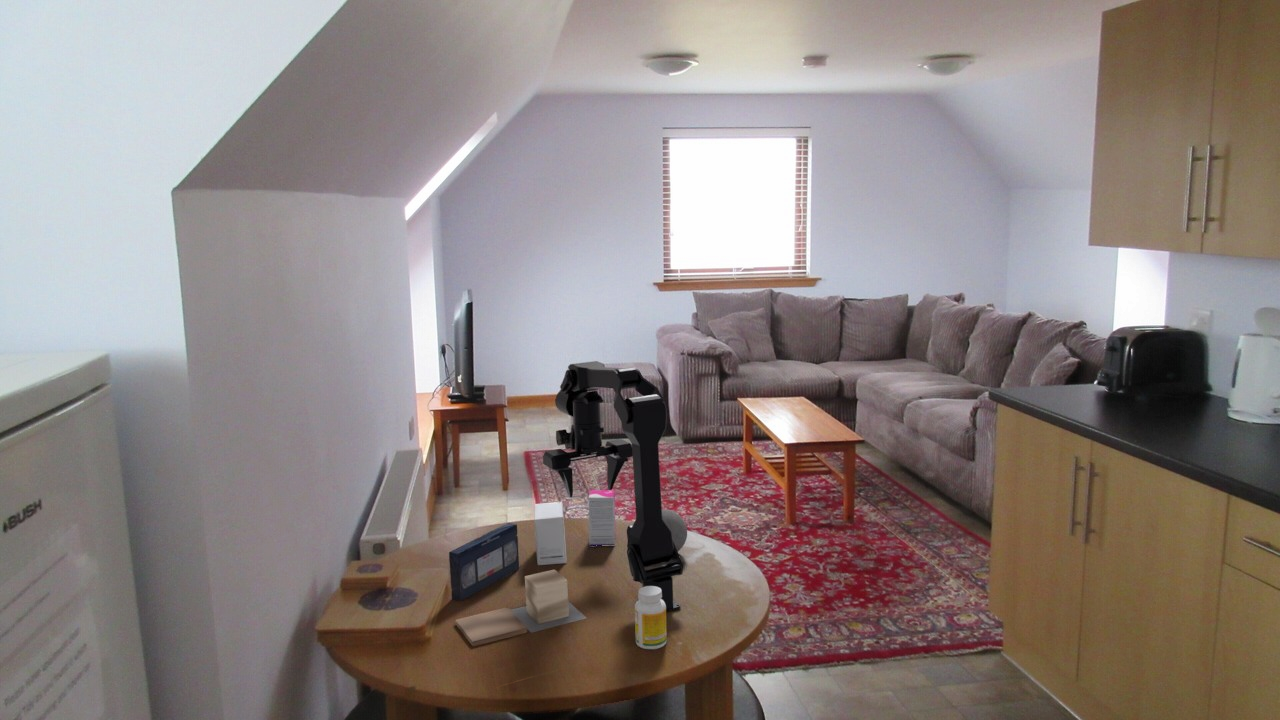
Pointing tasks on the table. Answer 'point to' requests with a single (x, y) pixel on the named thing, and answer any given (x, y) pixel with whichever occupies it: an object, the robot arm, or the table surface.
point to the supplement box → (601, 517)
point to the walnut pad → (490, 626)
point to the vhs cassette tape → (483, 561)
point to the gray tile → (534, 626)
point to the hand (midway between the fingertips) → (590, 493)
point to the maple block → (546, 596)
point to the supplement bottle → (650, 618)
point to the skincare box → (550, 533)
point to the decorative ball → (675, 527)
